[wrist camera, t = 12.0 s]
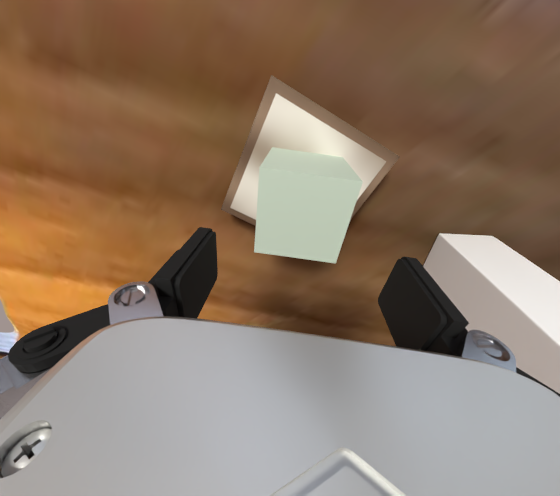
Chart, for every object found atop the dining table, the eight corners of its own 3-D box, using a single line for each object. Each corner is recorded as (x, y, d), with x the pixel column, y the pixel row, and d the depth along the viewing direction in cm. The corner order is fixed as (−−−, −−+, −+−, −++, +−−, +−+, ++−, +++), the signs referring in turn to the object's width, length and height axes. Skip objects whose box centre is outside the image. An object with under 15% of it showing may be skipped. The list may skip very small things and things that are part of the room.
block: (326, 220, 22) (335, 263, 16) (266, 212, 22) (254, 251, 16) (342, 157, 18) (362, 181, 12) (272, 147, 18) (259, 167, 12)
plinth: (319, 242, 27) (321, 258, 24) (228, 198, 24) (220, 210, 22) (387, 150, 21) (401, 157, 18) (275, 79, 18) (270, 74, 16)
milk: (438, 232, 25) (823, 585, 7) (493, 235, 25) (1065, 616, 6) (418, 273, 28) (638, 582, 10) (467, 275, 28) (788, 602, 10)
